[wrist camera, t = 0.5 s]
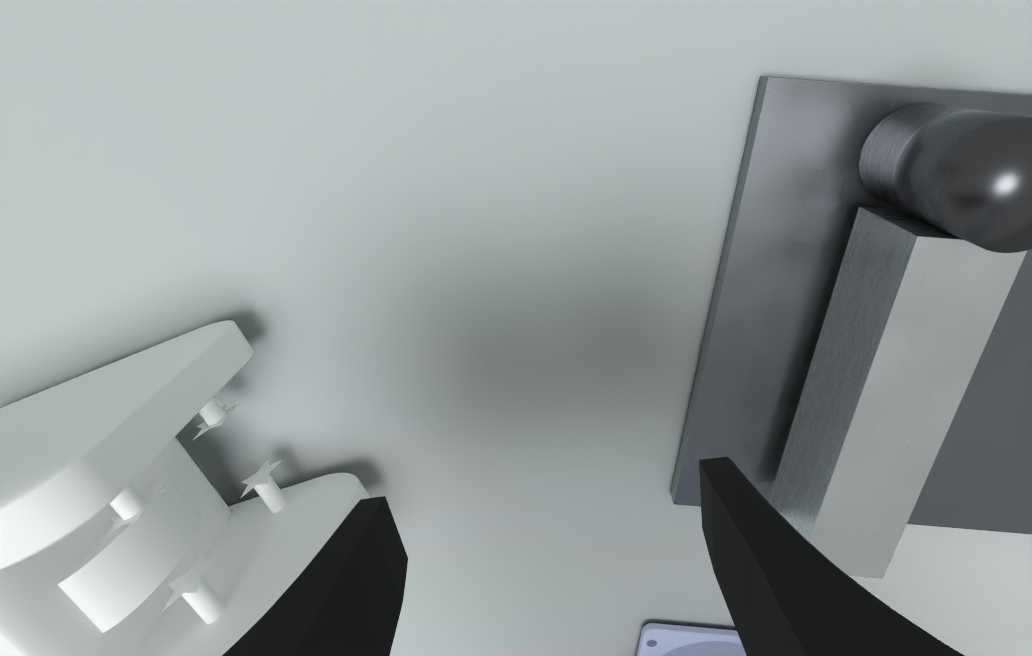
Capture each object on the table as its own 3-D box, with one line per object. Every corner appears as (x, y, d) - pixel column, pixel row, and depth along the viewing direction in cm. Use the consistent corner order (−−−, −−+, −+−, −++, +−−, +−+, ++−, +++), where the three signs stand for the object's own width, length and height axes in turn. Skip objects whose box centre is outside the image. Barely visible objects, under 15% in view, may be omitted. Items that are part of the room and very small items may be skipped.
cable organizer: (272, 290, 24) (48, 485, 13) (395, 490, 27) (300, 765, 17) (-12, 405, 27) (-380, 638, 16) (135, 571, 30) (-83, 845, 20)
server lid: (1037, 522, 26) (1051, 535, 25) (670, 491, 27) (673, 504, 26) (1267, 111, 19) (1296, 113, 18) (760, 76, 19) (768, 77, 19)
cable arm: (876, 99, 19) (987, 115, 14) (981, 106, 19) (1127, 125, 14) (759, 494, 25) (807, 596, 21) (835, 500, 25) (901, 604, 20)
